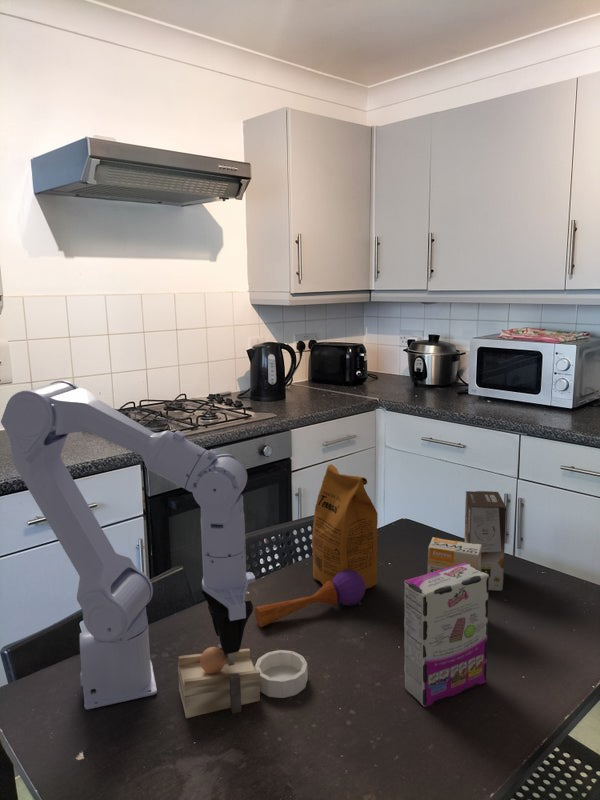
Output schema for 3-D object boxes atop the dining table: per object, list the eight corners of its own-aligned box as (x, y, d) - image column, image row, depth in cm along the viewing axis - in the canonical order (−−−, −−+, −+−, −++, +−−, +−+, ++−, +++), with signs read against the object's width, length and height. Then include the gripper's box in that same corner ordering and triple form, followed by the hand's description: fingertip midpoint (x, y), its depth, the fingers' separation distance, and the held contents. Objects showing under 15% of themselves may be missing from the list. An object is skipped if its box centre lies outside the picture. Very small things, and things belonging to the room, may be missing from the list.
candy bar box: (462, 664, 91) (466, 560, 88) (487, 683, 86) (491, 574, 84) (400, 688, 86) (402, 578, 83) (423, 709, 81) (426, 594, 78)
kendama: (249, 595, 104) (352, 562, 112) (255, 629, 105) (357, 594, 113) (261, 604, 99) (368, 569, 107) (267, 640, 99) (374, 603, 107)
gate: (225, 666, 82) (224, 632, 81) (219, 650, 86) (218, 617, 85) (237, 664, 83) (236, 630, 82) (230, 648, 86) (229, 615, 86)
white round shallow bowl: (264, 702, 83) (263, 685, 83) (250, 671, 90) (249, 656, 90) (314, 690, 86) (313, 674, 85) (297, 661, 92) (296, 646, 92)
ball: (201, 680, 82) (204, 656, 81) (196, 665, 85) (199, 642, 84) (226, 678, 83) (229, 654, 82) (221, 663, 86) (223, 641, 86)
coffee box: (504, 591, 112) (507, 507, 109) (467, 590, 113) (470, 506, 110) (495, 569, 121) (498, 490, 118) (462, 567, 122) (464, 489, 119)
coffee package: (348, 564, 124) (347, 458, 120) (384, 589, 113) (385, 474, 110) (304, 575, 120) (302, 466, 116) (338, 603, 109) (337, 483, 105)
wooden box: (187, 724, 79) (185, 688, 78) (177, 685, 87) (175, 651, 86) (263, 706, 83) (262, 670, 82) (247, 669, 91) (246, 636, 90)
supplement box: (425, 620, 103) (426, 547, 101) (430, 606, 107) (431, 535, 105) (476, 630, 100) (478, 554, 98) (479, 615, 104) (482, 542, 102)
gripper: (268, 566, 76) (270, 666, 79) (240, 525, 90) (243, 611, 92) (211, 576, 74) (216, 678, 76) (191, 531, 87) (195, 620, 90)
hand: (227, 642), depth 84 cm, fingers closed on gate, 4 cm apart
